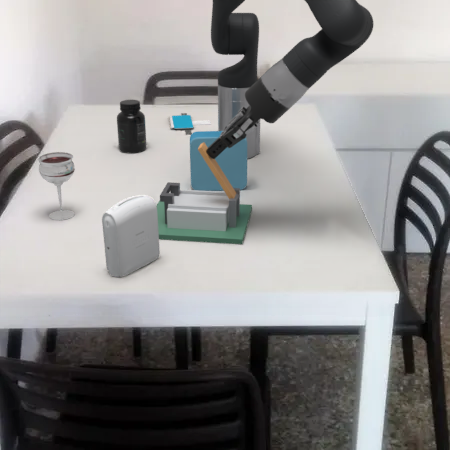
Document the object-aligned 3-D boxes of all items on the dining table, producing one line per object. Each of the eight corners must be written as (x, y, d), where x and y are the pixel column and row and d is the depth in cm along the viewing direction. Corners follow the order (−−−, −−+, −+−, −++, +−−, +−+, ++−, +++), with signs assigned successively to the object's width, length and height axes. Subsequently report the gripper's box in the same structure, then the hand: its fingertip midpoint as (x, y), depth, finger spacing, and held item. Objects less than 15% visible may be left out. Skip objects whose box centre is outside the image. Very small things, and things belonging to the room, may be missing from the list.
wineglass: (41, 211, 146) (34, 154, 141) (75, 206, 148) (69, 150, 143) (47, 224, 140) (40, 165, 135) (82, 218, 142) (76, 160, 137)
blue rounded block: (245, 182, 159) (245, 130, 154) (247, 190, 155) (247, 136, 150) (191, 183, 159) (189, 131, 154) (191, 191, 155) (189, 137, 150)
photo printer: (119, 280, 120) (114, 212, 115) (102, 272, 122) (96, 205, 117) (163, 258, 127) (160, 193, 122) (146, 251, 129) (142, 186, 124)
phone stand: (214, 135, 192) (214, 129, 191) (169, 137, 190) (168, 131, 190) (207, 114, 210) (207, 109, 209) (165, 116, 208) (165, 110, 208)
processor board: (252, 209, 146) (252, 177, 143) (242, 244, 132) (242, 210, 129) (160, 204, 148) (158, 173, 146) (140, 238, 134) (138, 204, 131)
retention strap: (239, 196, 138) (205, 141, 134) (237, 203, 135) (202, 146, 132) (234, 199, 138) (199, 144, 135) (232, 205, 136) (196, 149, 132)
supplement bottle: (143, 143, 184) (140, 97, 179) (149, 152, 178) (146, 104, 173) (116, 146, 182) (113, 99, 177) (121, 155, 176) (118, 106, 171)
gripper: (265, 66, 132) (201, 129, 139) (258, 84, 120) (188, 152, 127) (294, 96, 134) (229, 156, 141) (289, 116, 122) (219, 181, 129)
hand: (209, 154), depth 134 cm, fingers closed
